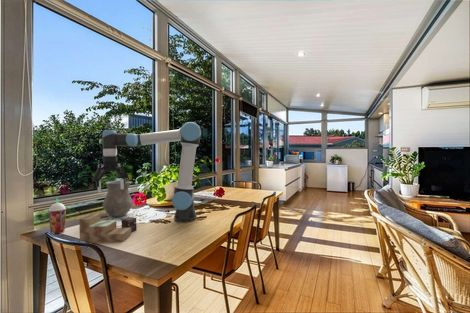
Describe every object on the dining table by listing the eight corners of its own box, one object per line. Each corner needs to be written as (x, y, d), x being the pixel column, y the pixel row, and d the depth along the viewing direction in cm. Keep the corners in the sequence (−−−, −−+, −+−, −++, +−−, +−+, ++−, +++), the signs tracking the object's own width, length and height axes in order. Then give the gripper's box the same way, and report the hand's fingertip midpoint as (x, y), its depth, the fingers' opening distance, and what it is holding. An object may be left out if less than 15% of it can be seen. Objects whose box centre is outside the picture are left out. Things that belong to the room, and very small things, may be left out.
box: (127, 233, 134) (127, 220, 134) (121, 231, 138) (121, 219, 137) (136, 230, 139) (136, 218, 139) (130, 228, 143) (130, 216, 143)
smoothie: (70, 230, 140) (69, 197, 139) (55, 235, 132) (54, 200, 132) (60, 229, 143) (59, 196, 142) (45, 233, 135) (44, 199, 134)
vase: (124, 211, 185) (123, 179, 185) (138, 214, 174) (137, 181, 174) (97, 217, 169) (96, 182, 169) (111, 221, 158) (110, 184, 158)
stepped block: (131, 234, 132) (130, 213, 131) (122, 241, 121) (122, 218, 121) (91, 235, 131) (90, 214, 131) (79, 242, 121) (78, 219, 120)
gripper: (126, 155, 155) (127, 187, 155) (84, 156, 135) (86, 193, 135) (132, 155, 151) (133, 188, 151) (90, 156, 131) (91, 194, 131)
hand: (111, 190), depth 143 cm, fingers open, 13 cm apart
